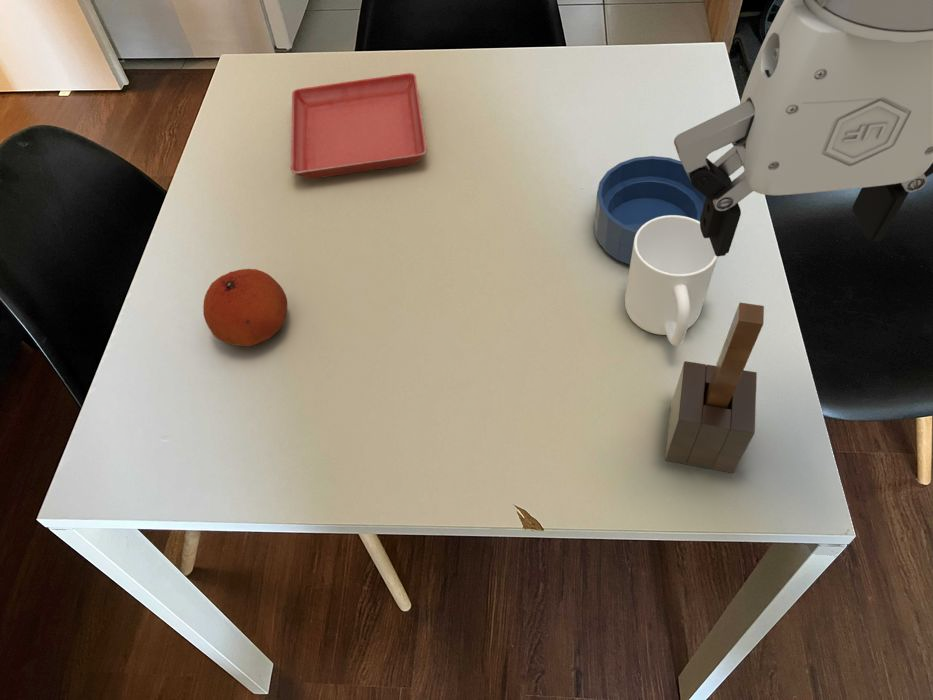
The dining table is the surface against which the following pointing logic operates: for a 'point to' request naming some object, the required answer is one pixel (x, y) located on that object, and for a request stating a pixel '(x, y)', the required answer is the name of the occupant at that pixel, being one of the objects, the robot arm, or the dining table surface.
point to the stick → (734, 354)
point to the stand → (710, 421)
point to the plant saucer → (356, 126)
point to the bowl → (641, 200)
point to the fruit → (244, 307)
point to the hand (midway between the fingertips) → (790, 232)
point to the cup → (669, 276)
